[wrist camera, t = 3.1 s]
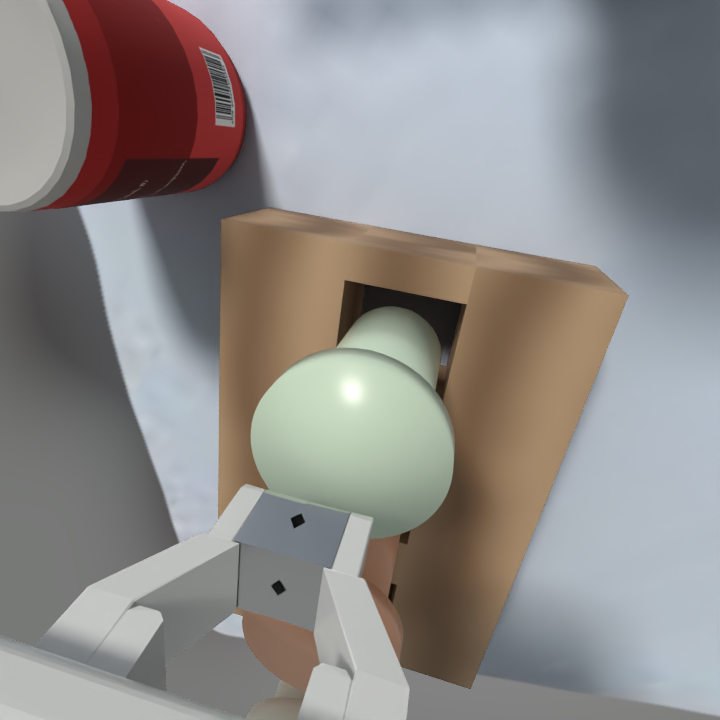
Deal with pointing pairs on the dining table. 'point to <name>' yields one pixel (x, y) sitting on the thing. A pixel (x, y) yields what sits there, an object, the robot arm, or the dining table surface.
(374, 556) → the peach mushroom knob
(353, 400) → the sage plunger
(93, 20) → the canned food
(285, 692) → the cream plunger
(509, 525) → the walnut board
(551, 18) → the dining table surface
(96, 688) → the robot arm
